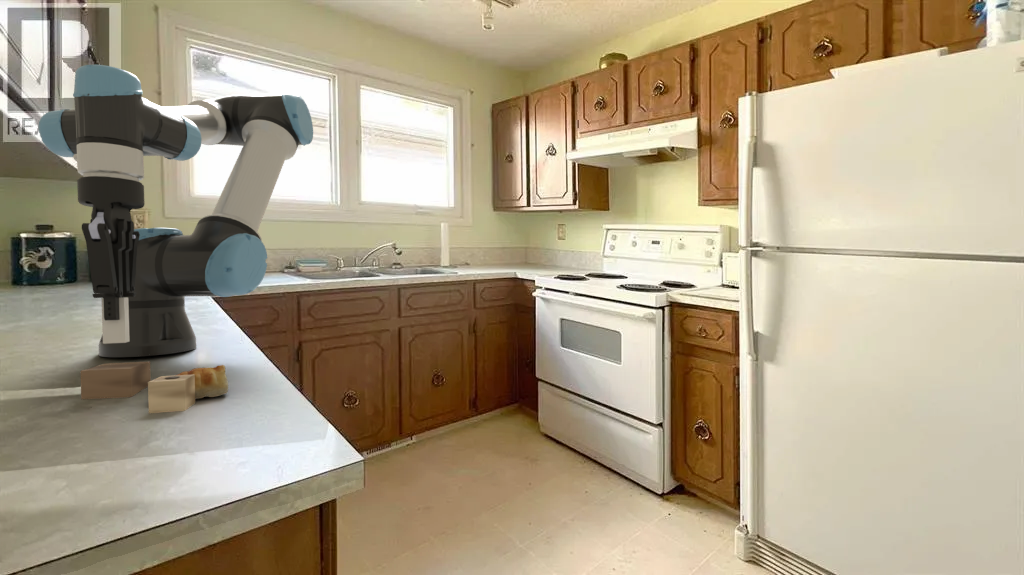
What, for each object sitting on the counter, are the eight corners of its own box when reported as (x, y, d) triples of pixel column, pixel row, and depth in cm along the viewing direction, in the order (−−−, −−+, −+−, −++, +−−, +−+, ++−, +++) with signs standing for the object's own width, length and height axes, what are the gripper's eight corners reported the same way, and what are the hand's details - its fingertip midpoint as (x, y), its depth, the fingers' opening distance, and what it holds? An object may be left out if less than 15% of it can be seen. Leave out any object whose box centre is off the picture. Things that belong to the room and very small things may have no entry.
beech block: (161, 406, 67) (160, 375, 67) (195, 403, 68) (194, 373, 68) (148, 413, 63) (148, 381, 63) (185, 411, 64) (184, 379, 64)
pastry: (149, 406, 65) (147, 378, 65) (151, 395, 71) (149, 368, 71) (231, 394, 71) (230, 368, 70) (226, 385, 76) (225, 360, 76)
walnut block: (105, 393, 75) (104, 363, 75) (151, 390, 76) (150, 361, 76) (81, 403, 69) (80, 370, 69) (131, 400, 71) (130, 368, 70)
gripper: (100, 186, 77) (105, 338, 77) (54, 168, 65) (60, 350, 65) (157, 188, 79) (161, 336, 80) (124, 171, 67) (129, 346, 68)
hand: (116, 342), depth 73 cm, fingers closed
